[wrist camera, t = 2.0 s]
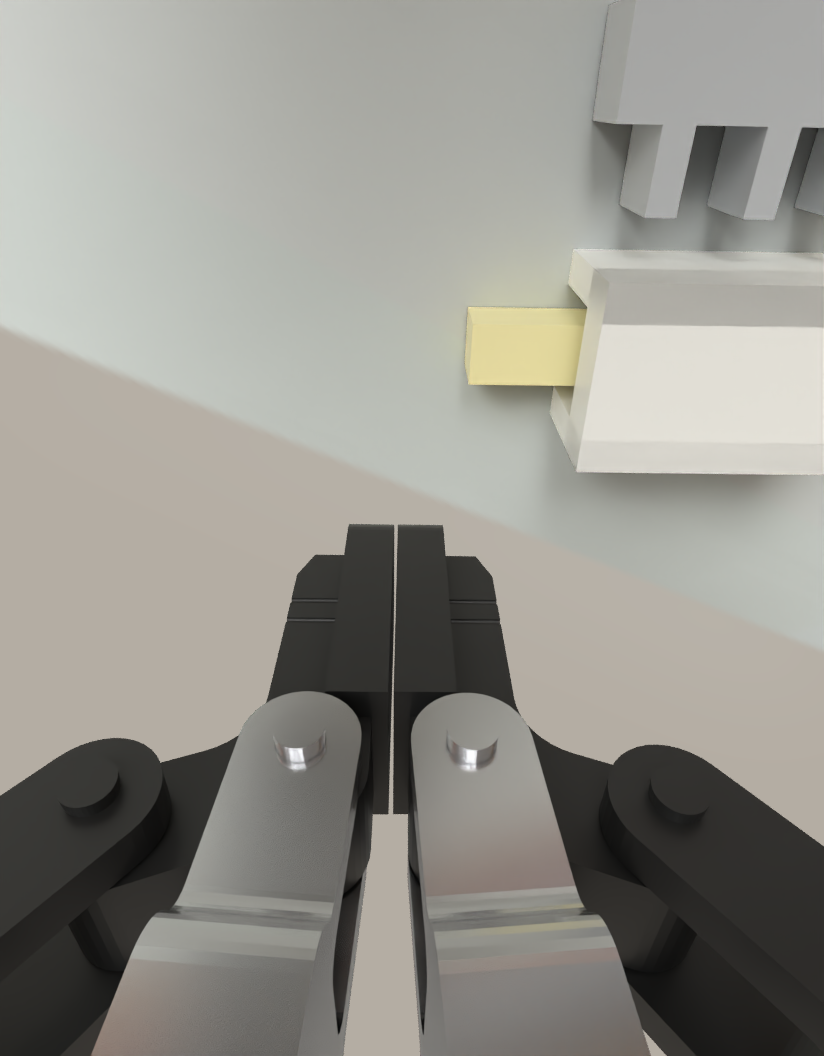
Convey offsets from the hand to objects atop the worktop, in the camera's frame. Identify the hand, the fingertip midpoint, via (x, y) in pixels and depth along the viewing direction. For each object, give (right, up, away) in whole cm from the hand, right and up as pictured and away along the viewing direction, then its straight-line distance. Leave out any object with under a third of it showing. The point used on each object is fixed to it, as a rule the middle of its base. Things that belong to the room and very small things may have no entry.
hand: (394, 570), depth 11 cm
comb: (+9, +12, +6) cm, 17 cm away
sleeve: (+9, +7, +10) cm, 15 cm away
